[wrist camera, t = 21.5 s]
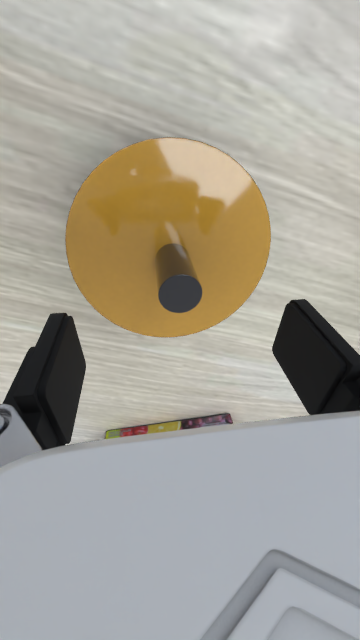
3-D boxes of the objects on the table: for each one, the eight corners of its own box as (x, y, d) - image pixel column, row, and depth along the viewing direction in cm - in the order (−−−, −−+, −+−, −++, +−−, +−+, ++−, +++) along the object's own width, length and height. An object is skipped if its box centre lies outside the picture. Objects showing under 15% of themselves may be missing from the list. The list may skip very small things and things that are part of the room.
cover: (57, 308, 21) (32, 360, 17) (88, 87, 14) (59, 62, 9) (214, 343, 26) (231, 392, 21) (304, 191, 18) (363, 213, 13)
